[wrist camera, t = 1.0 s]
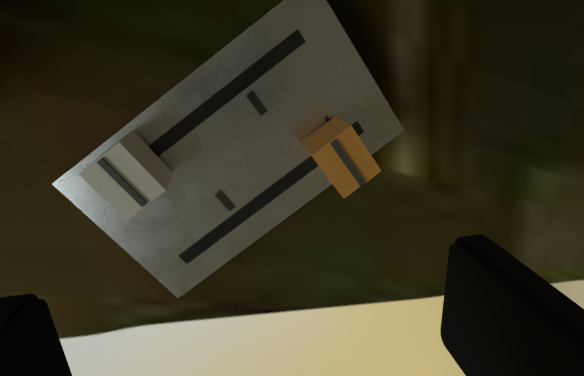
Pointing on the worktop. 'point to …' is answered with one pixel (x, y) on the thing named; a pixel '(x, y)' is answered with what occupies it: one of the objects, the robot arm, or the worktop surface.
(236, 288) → the worktop surface
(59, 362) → the robot arm
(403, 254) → the worktop surface
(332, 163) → the fader orange
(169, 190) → the console
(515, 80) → the worktop surface
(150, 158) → the fader white
